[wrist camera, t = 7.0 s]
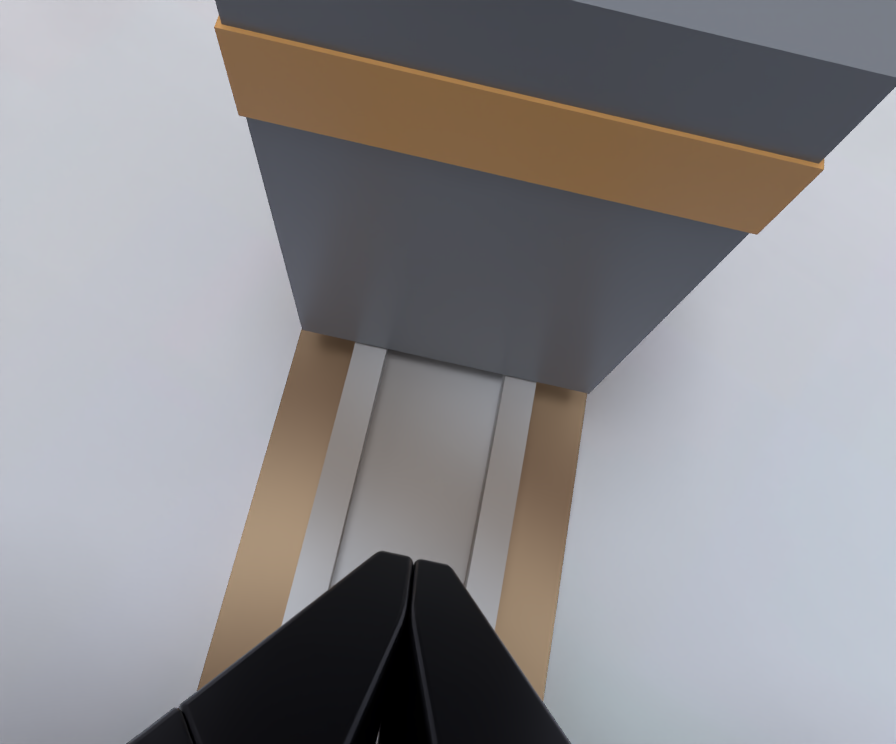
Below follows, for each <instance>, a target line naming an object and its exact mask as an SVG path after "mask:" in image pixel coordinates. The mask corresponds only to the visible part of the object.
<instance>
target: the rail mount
mask: <svg viewBox="0 0 896 744" xmlns="http://www.w3.org/2000/svg"><path fill="white" fill-rule="evenodd" d="M586 397H587V393H584V392H579V391H575V390H571V389H566V388H562V387H557V386H553V385H548V384H544V383H539V382H535V381H530V380H526V379H521V378H517V377H512V376H508V375H503V374H499V373H494V372H490V371H485V370H481V369H476V368H472V367H467V366H463V365H458V364H454V363H449V362H445V361H440V360H436V359H431V358H427V357H422V356H418V355H413V354H409V353H404V352H400V351H395V350H391V349H386V348H382V347H377V346H373V345H368V344H364V343H359V342H355V341H350V340H346V339H341V338H337V337H332V336H328V335H323V334H319V333H314V332H310V331H305V330H301V333H300V337H299V340H298V344H297V347H296V351H295V354H294V357H293V361H292V364H291V368H290V371H289V375H288V378H287V382H286V385H285V389H284V392H283V395H282V399H281V402H280V406H279V409H278V413H277V416H276V420H275V423H274V427H273V430H272V433H271V437H270V440H269V444H268V447H267V451H266V454H265V458H264V461H263V464H262V468H261V471H260V475H259V478H258V482H257V485H256V489H255V492H254V496H253V499H252V502H251V506H250V509H249V513H248V516H247V520H246V523H245V527H244V530H243V534H242V537H241V540H240V544H239V547H238V551H237V554H236V558H235V561H234V565H233V568H232V572H231V575H230V578H229V582H228V585H227V589H226V592H225V596H224V599H223V603H222V606H221V610H220V613H219V616H218V620H217V623H216V627H215V630H214V634H213V637H212V641H211V644H210V647H209V651H208V654H207V658H206V661H205V665H204V668H203V672H202V675H201V679H200V682H199V685H198V689H197V691H198V690H199V689H201V688H202V687H203V686H205V685H206V684H207V683H208V682H210V681H211V680H212V679H214V678H215V677H216V676H217V675H219V674H220V673H221V672H223V671H224V670H225V669H226V668H228V667H229V666H230V665H232V664H233V663H234V662H235V661H237V660H238V659H239V658H241V657H242V656H243V655H245V654H246V653H247V652H248V651H250V650H251V649H252V648H254V647H255V646H256V645H257V644H259V643H260V642H261V641H263V640H264V639H265V638H266V637H268V636H269V635H270V634H272V633H273V632H274V631H275V630H277V629H278V628H279V627H281V626H282V625H283V624H285V623H286V622H287V621H288V620H290V619H291V618H292V617H294V616H295V615H296V614H297V613H299V612H300V611H301V610H303V609H304V608H305V607H306V606H308V605H309V604H310V603H312V602H313V601H314V600H315V599H317V598H318V597H319V596H321V595H322V594H323V593H324V592H326V591H327V590H328V589H330V588H331V587H332V586H334V585H335V584H336V583H337V582H339V581H340V580H341V579H343V578H344V577H345V576H346V575H348V574H349V573H350V572H352V571H353V570H354V569H355V568H357V567H358V566H359V565H361V564H362V563H363V562H364V561H366V560H367V559H368V558H370V557H371V556H372V555H373V554H375V553H376V552H378V551H387V552H391V553H396V554H401V555H406V556H409V557H410V558H411V559H412V560H413V565H414V562H415V561H416V560H418V559H424V560H429V561H434V562H439V563H443V564H447V565H449V566H450V567H451V568H453V570H454V571H455V573H456V574H457V576H458V577H459V579H460V580H461V582H462V583H463V585H464V586H465V588H466V589H467V591H468V592H469V594H470V595H471V597H472V598H473V599H474V601H475V602H476V604H477V605H478V607H479V608H480V610H481V611H482V613H483V614H484V616H485V617H486V619H487V620H488V622H489V623H490V625H491V626H492V628H493V629H494V630H495V632H496V633H497V635H498V636H499V638H500V639H501V641H502V642H503V644H504V645H505V647H506V648H507V650H508V651H509V653H510V654H511V656H512V657H513V659H514V660H515V661H516V663H517V664H518V666H519V667H520V669H521V670H522V672H523V673H524V675H525V676H526V678H527V679H528V681H529V682H530V684H531V685H532V687H533V688H534V690H535V691H536V692H537V694H538V695H539V697H540V698H541V700H542V701H543V698H544V691H545V684H546V677H547V670H548V663H549V656H550V649H551V642H552V635H553V628H554V621H555V614H556V607H557V600H558V593H559V586H560V579H561V572H562V565H563V558H564V551H565V544H566V537H567V530H568V523H569V516H570V509H571V502H572V495H573V488H574V481H575V474H576V467H577V460H578V453H579V446H580V439H581V432H582V425H583V418H584V411H585V404H586ZM378 735H379V733H378ZM377 742H378V737H377ZM377 742H376V744H377Z"/></svg>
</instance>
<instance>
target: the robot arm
mask: <svg viewBox="0 0 896 744" xmlns="http://www.w3.org/2000/svg"><path fill="white" fill-rule="evenodd" d="M378 733H379V735H378ZM377 737H378V742H377ZM376 742H377V744H571V743H570V741H569V740H568V738H567V737H566V735H565V734H564V732H563V731H562V729H561V728H560V726H559V725H558V724H557V722H556V721H555V719H554V718H553V716H552V715H551V713H550V712H549V710H548V709H547V707H546V706H545V704H544V703H543V701H542V700H541V698H540V697H539V695H538V694H537V692H536V691H535V690H534V688H533V687H532V685H531V684H530V682H529V681H528V679H527V678H526V676H525V675H524V673H523V672H522V670H521V669H520V667H519V666H518V664H517V663H516V661H515V660H514V659H513V657H512V656H511V654H510V653H509V651H508V650H507V648H506V647H505V645H504V644H503V642H502V641H501V639H500V638H499V636H498V635H497V633H496V632H495V630H494V629H493V628H492V626H491V625H490V623H489V622H488V620H487V619H486V617H485V616H484V614H483V613H482V611H481V610H480V608H479V607H478V605H477V604H476V602H475V601H474V599H473V598H472V597H471V595H470V594H469V592H468V591H467V589H466V588H465V586H464V585H463V583H462V582H461V580H460V579H459V577H458V576H457V574H456V573H455V571H454V570H453V568H451V567H450V566H449V565H447V564H443V563H439V562H434V561H429V560H424V559H418V560H416V561H415V562H414V565H413V560H412V559H411V558H410V557H409V556H406V555H401V554H396V553H391V552H387V551H378V552H376V553H375V554H373V555H372V556H371V557H370V558H368V559H367V560H366V561H364V562H363V563H362V564H361V565H359V566H358V567H357V568H355V569H354V570H353V571H352V572H350V573H349V574H348V575H346V576H345V577H344V578H343V579H341V580H340V581H339V582H337V583H336V584H335V585H334V586H332V587H331V588H330V589H328V590H327V591H326V592H324V593H323V594H322V595H321V596H319V597H318V598H317V599H315V600H314V601H313V602H312V603H310V604H309V605H308V606H306V607H305V608H304V609H303V610H301V611H300V612H299V613H297V614H296V615H295V616H294V617H292V618H291V619H290V620H288V621H287V622H286V623H285V624H283V625H282V626H281V627H279V628H278V629H277V630H275V631H274V632H273V633H272V634H270V635H269V636H268V637H266V638H265V639H264V640H263V641H261V642H260V643H259V644H257V645H256V646H255V647H254V648H252V649H251V650H250V651H248V652H247V653H246V654H245V655H243V656H242V657H241V658H239V659H238V660H237V661H235V662H234V663H233V664H232V665H230V666H229V667H228V668H226V669H225V670H224V671H223V672H221V673H220V674H219V675H217V676H216V677H215V678H214V679H212V680H211V681H210V682H208V683H207V684H206V685H205V686H203V687H202V688H201V689H199V690H198V691H197V692H196V693H194V694H193V695H192V696H190V697H189V698H188V699H186V700H185V701H184V702H183V703H181V704H180V706H179V708H173V709H171V710H170V711H169V712H167V713H166V714H165V715H164V716H162V717H161V718H160V719H158V720H157V721H156V722H155V723H153V724H152V725H151V726H149V727H148V728H147V729H146V730H144V731H143V732H142V733H140V734H139V735H138V736H136V737H135V738H133V739H132V740H131V741H129V742H128V743H127V744H376Z"/></svg>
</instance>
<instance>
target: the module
mask: <svg viewBox="0 0 896 744" xmlns="http://www.w3.org/2000/svg"><path fill="white" fill-rule="evenodd" d="M215 1H216V5H217V9H218V13H219V16H218V19H217V22H216V24H215V27H214V28H215V32H216V35H217V39H218V42H219V46H220V50H221V53H222V57H223V60H224V64H225V68H226V71H227V75H228V78H229V82H230V86H231V89H232V93H233V96H234V100H235V103H236V107H237V111H238V114H239V116H244V117H246V119H247V122H248V126H249V130H250V134H251V137H252V141H253V145H254V149H255V153H256V156H257V160H258V164H259V168H260V172H261V175H262V179H263V183H264V187H265V190H266V194H267V198H268V202H269V206H270V209H271V213H272V217H273V221H274V224H275V228H276V232H277V236H278V240H279V243H280V247H281V251H282V255H283V258H284V262H285V266H286V270H287V274H288V277H289V281H290V285H291V289H292V293H293V296H294V300H295V304H296V308H297V311H298V315H299V319H300V323H301V327H302V330H305V331H310V332H314V333H319V334H323V335H328V336H332V337H337V338H341V339H346V340H350V341H355V342H359V343H364V344H368V345H373V346H377V347H382V348H386V349H391V350H395V351H400V352H404V353H409V354H413V355H418V356H422V357H427V358H431V359H436V360H440V361H445V362H449V363H454V364H458V365H463V366H467V367H472V368H476V369H481V370H485V371H490V372H494V373H499V374H503V375H508V376H512V377H517V378H521V379H526V380H530V381H535V382H539V383H544V384H548V385H553V386H557V387H562V388H566V389H571V390H575V391H579V392H584V393H588V394H589V393H590V392H591V391H592V390H593V389H594V388H595V387H596V386H597V385H598V384H599V383H600V382H601V381H602V380H603V379H604V378H605V377H606V376H607V375H608V374H609V373H610V372H611V371H612V370H613V369H614V368H615V367H616V366H617V365H618V364H619V363H620V362H621V361H622V360H623V359H624V358H625V357H626V356H627V355H628V354H629V353H630V352H631V351H632V350H633V349H634V348H635V347H636V346H637V345H638V344H639V343H640V342H641V341H642V340H643V339H644V338H645V337H646V336H647V335H648V334H649V333H650V332H651V331H652V330H653V329H654V328H655V327H656V326H657V325H658V324H659V323H660V322H661V321H662V320H663V319H664V318H665V317H666V316H667V315H668V314H669V313H670V312H671V311H672V310H673V309H674V308H675V307H676V306H677V305H678V304H679V303H680V302H681V301H682V300H683V299H684V298H685V297H686V296H687V295H688V294H689V293H690V292H691V291H692V290H693V289H694V288H695V287H696V286H697V285H698V284H699V283H700V282H701V281H702V280H703V279H704V278H705V277H706V276H707V275H708V274H709V273H710V272H711V271H712V270H713V269H714V268H715V267H716V266H717V265H718V264H719V263H720V262H721V261H722V260H723V259H724V258H725V257H726V256H727V255H728V254H729V253H730V252H731V251H732V250H733V249H734V248H735V247H736V246H737V245H738V244H739V243H740V242H741V241H742V240H743V239H744V238H745V237H746V236H747V235H748V234H749V233H752V234H756V235H757V234H758V233H759V232H760V231H761V230H762V229H763V228H764V227H766V226H767V225H768V224H769V223H770V222H771V221H772V220H773V219H774V218H775V217H776V216H777V215H778V214H779V213H780V212H781V211H782V210H783V209H784V208H785V207H786V206H787V205H788V204H789V203H790V202H791V201H792V200H793V199H794V198H795V197H796V196H797V195H798V194H799V193H800V192H801V191H802V190H803V189H804V188H805V187H806V186H808V185H809V184H810V183H811V182H812V181H813V180H814V179H815V178H816V177H817V176H818V175H819V174H820V173H821V172H822V171H823V170H824V158H825V157H826V156H827V155H828V154H829V153H830V152H831V151H832V150H833V149H834V148H835V147H836V146H837V145H838V144H839V143H840V142H841V141H842V140H843V139H844V138H845V137H846V136H847V135H848V134H849V133H850V132H851V131H852V130H853V129H854V128H855V127H856V126H857V125H858V124H859V123H860V122H861V121H862V120H863V119H864V118H865V117H866V116H867V115H868V114H869V113H870V112H871V111H872V110H873V109H874V108H875V107H876V106H877V105H878V104H879V103H880V102H881V101H882V100H883V99H884V98H885V97H886V96H887V95H888V94H889V93H890V92H891V91H892V90H893V89H894V88H895V87H896V0H215Z"/></svg>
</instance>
